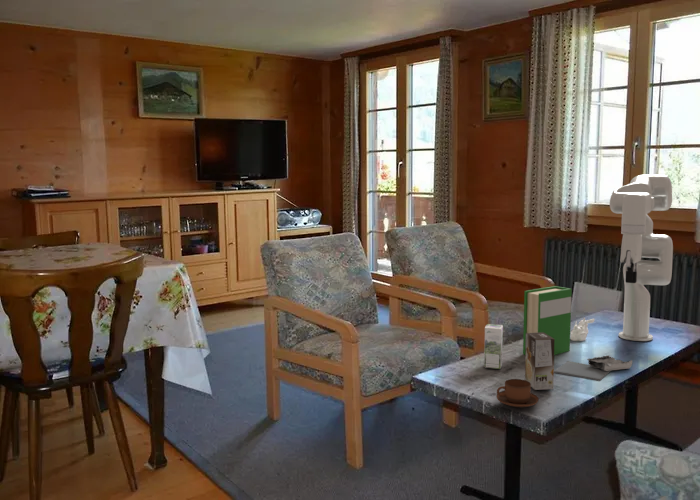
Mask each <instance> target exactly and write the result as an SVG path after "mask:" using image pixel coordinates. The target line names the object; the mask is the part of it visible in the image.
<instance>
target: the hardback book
mask: <svg viewBox="0 0 700 500" xmlns="http://www.w3.org/2000/svg"><path fill="white" fill-rule="evenodd" d="M572 291H573V289H572V288H569V287H564V286H563V287H562V286H557V285H553V286H549V287H540V288H533V289H528V290H524V291H523V292H524V296H523V297H524V298H523V299H524V300H523V302H524V303H523V332H522V333H523V337H522V338H523V339H522V355H523V354H524V356H525V354H526V333H536V332H544V333H546V334H547V335H549V336H550V337H552V338H554V339H555V344H554V356H557V355H560V354H564V353H567V352H570V350H571V346H570V345H571V322H572V295H573V292H572Z"/></svg>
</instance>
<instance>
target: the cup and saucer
mask: <svg viewBox="0 0 700 500" xmlns="http://www.w3.org/2000/svg"><path fill="white" fill-rule="evenodd" d="M501 389H503V390H501ZM531 389H532V387H531V383H530V382H528V381H526V380H525V379H519V378H510V379H506V380H505V381H504V386H503V385H502V386H499V387H497V389H496V395H495V396H496V399H497V401H499V402H500V403H501V404H503V405H505V406H509V407H513V408H527V407H532V406H535V405H536V404H537V403H538V402H539V400H540V399H539V396H538V395H537V394H534V393H532V392H531ZM500 390H501V391H500Z"/></svg>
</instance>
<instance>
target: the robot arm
mask: <svg viewBox="0 0 700 500" xmlns="http://www.w3.org/2000/svg"><path fill="white" fill-rule="evenodd" d="M609 198H610V199H609V209H610V210H611V212H612V213H614V214H617V215H618V214H621V229H620V230H621V231H620V232H621V233H620V234H621V235H622V239H621V248H620V259H619V261H620V263H621V264H622V263H623V268H622V272H623V274H622V276H623V281H624V282H623V283H624V298H623V299H624V300H623V318H622V319H623V320H622V321H623V323H622V331H619V332H618V337H619V338H621V339H623V340H627V341H635V342H648V341H649V342H650V341H652V340H653V339H654V336H653V335H652V334H651V333H650V318H651V317H650V312H651V311H650V310H651V293H650V292H649V290H648V289H647V288H646V287H645V286H647V285H650V286H667V285H669V284H670V283H671V280H672V275H673V274H672V273H673V259H674V258H673V255H674V254H673V253H674V245H673V240H672V237H671V236H669V235H667V234H658V233H656V234H655V233H654V231H653V230H654V222H653V219H652V218H651V217H650V216H649V215H648V214H650V213H651V212H652V211H654V212H657V211H659V212H661V211H662V212H663V211H664V212H665V211H668V210H669V209H670V208H671V207H672V205H673V185H672V181H671V178H670V177H669V176H668V175H665V174H639V175H636V176H634V177H633V178H632V179H631V180H630V182H629V183H628V184H626V185H623V186H619V187H617V188H614V190H613V191H612V193H611V196H610V197H609ZM642 258H649V259H658V260H649V259H648V260H645V259H642Z"/></svg>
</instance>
